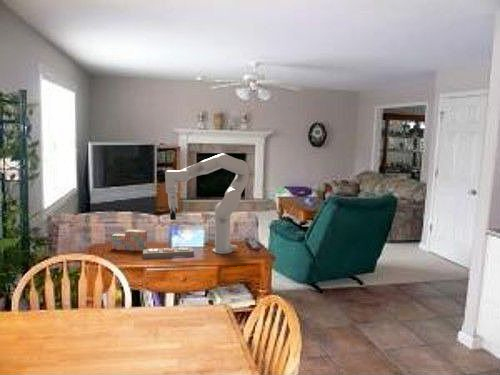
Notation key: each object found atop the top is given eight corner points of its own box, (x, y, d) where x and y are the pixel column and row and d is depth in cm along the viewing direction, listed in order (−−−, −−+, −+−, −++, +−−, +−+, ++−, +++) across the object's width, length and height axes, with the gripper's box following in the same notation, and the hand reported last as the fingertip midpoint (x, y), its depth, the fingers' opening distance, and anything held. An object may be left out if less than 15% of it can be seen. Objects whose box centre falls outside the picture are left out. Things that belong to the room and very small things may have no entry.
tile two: (187, 251, 275) (187, 246, 275) (188, 253, 270) (188, 249, 270) (178, 251, 274) (178, 247, 274) (178, 253, 269) (178, 249, 268)
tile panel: (192, 251, 278) (192, 247, 278) (193, 256, 269) (193, 251, 268) (143, 254, 272) (143, 249, 271) (142, 258, 262) (142, 253, 262)
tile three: (172, 251, 273) (172, 247, 273) (173, 254, 268) (173, 249, 268) (163, 252, 272) (163, 247, 272) (163, 254, 267) (163, 250, 266)
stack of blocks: (111, 249, 282) (110, 230, 280) (115, 247, 288) (114, 228, 286) (143, 251, 279) (143, 232, 278) (147, 248, 286) (147, 229, 284)
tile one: (157, 252, 271) (157, 248, 271) (158, 254, 266) (158, 250, 266) (148, 252, 270) (148, 248, 270) (148, 255, 265) (148, 250, 264)
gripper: (179, 191, 267) (180, 221, 269) (176, 188, 281) (177, 217, 283) (166, 192, 265) (168, 222, 267) (164, 189, 279) (166, 217, 281)
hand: (173, 219), depth 275 cm, fingers closed
